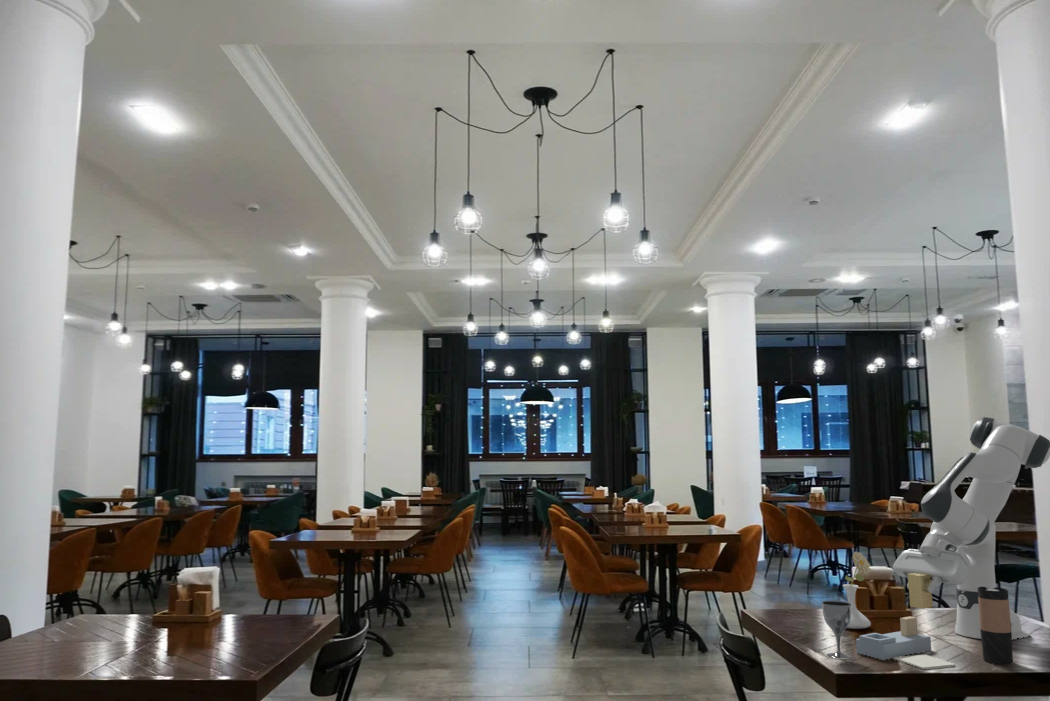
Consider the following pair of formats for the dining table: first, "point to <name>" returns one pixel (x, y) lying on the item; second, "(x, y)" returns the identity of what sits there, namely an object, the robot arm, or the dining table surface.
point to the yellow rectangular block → (919, 590)
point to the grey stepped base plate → (894, 641)
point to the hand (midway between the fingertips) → (919, 589)
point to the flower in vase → (856, 617)
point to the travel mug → (995, 625)
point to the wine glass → (837, 621)
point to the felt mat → (924, 661)
